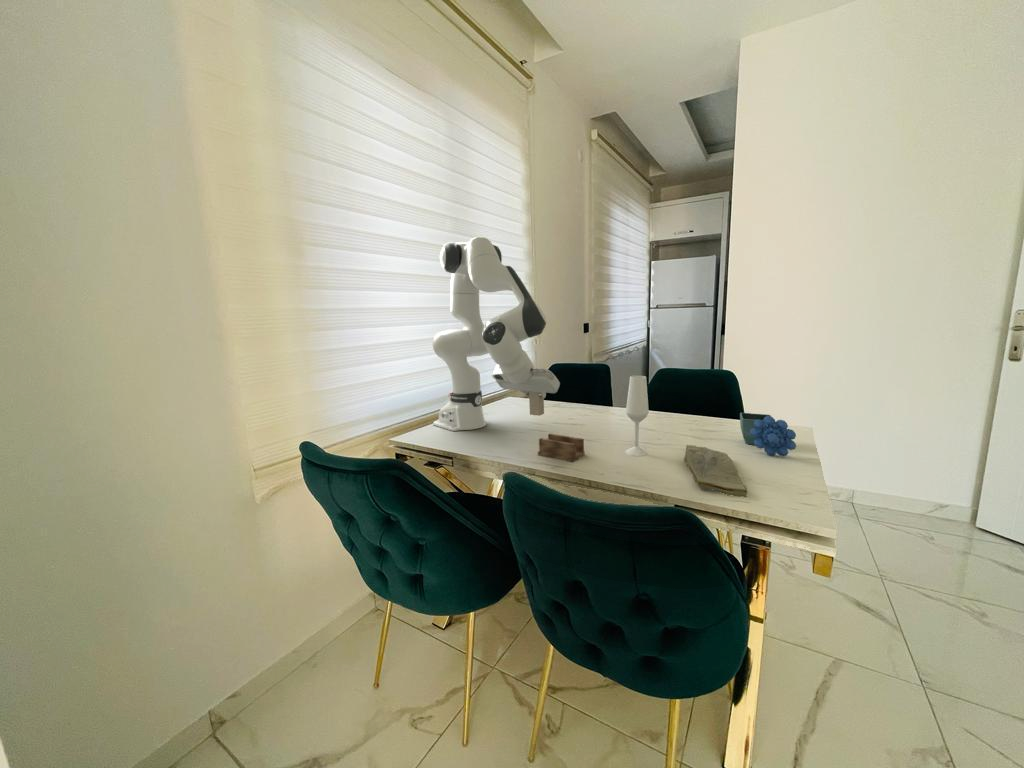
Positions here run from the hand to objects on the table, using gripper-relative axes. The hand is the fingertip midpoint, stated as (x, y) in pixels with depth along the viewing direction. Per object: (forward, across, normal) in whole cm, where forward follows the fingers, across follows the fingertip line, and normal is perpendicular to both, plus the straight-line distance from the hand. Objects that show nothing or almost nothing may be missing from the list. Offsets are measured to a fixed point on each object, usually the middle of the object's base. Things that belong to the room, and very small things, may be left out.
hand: (536, 395), depth 125 cm
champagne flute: (+24, -27, +3) cm, 36 cm away
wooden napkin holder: (+13, -8, +13) cm, 20 cm away
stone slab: (+21, -49, +7) cm, 54 cm away
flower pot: (+44, -57, -17) cm, 74 cm away
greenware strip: (+4, 0, +4) cm, 6 cm away
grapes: (+35, -62, -8) cm, 72 cm away
